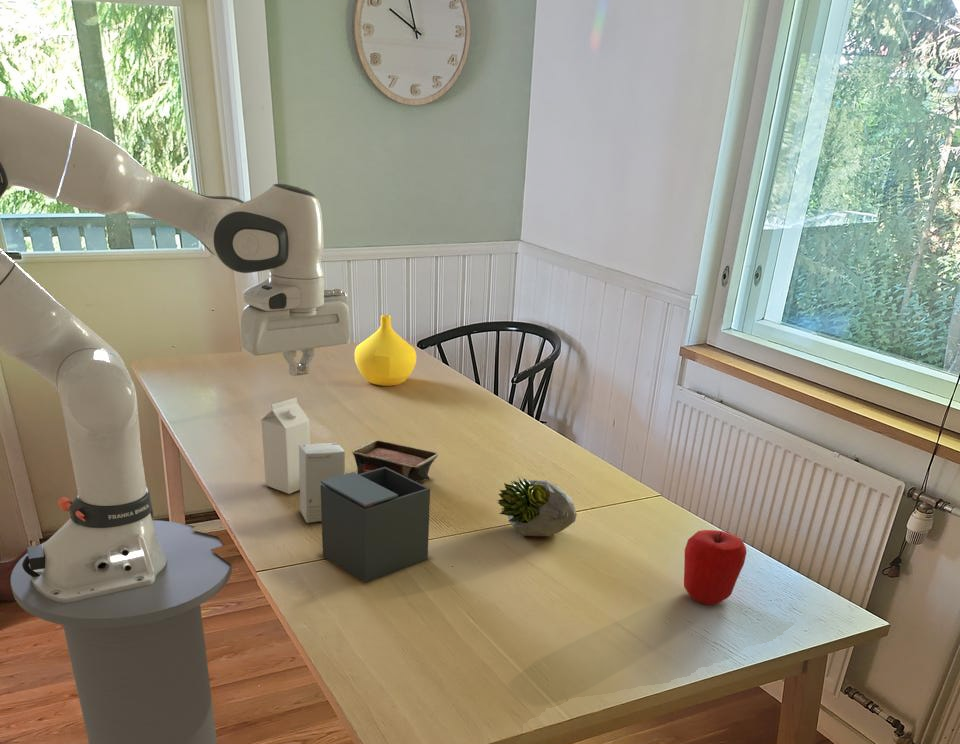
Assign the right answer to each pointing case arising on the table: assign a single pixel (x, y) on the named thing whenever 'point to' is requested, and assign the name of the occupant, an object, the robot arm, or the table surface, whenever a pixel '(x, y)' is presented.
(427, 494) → the carton
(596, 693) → the table surface
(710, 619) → the table surface
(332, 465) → the cosmetic box
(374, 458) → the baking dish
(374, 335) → the vase
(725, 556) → the apple
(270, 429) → the milk carton
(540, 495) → the potted plant
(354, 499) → the flap
